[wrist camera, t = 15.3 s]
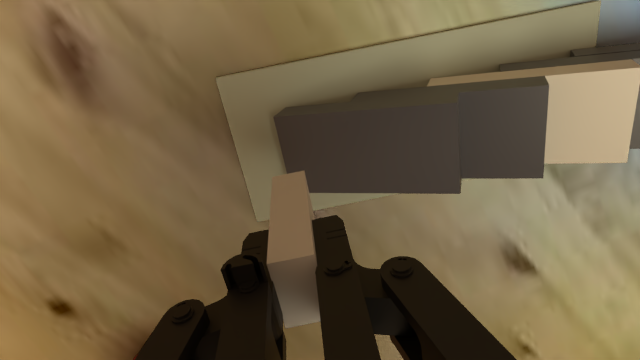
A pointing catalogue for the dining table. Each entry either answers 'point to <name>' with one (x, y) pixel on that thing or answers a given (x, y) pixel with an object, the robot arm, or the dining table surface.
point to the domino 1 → (375, 145)
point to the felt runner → (383, 82)
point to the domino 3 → (639, 125)
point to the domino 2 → (494, 124)
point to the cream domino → (581, 108)
